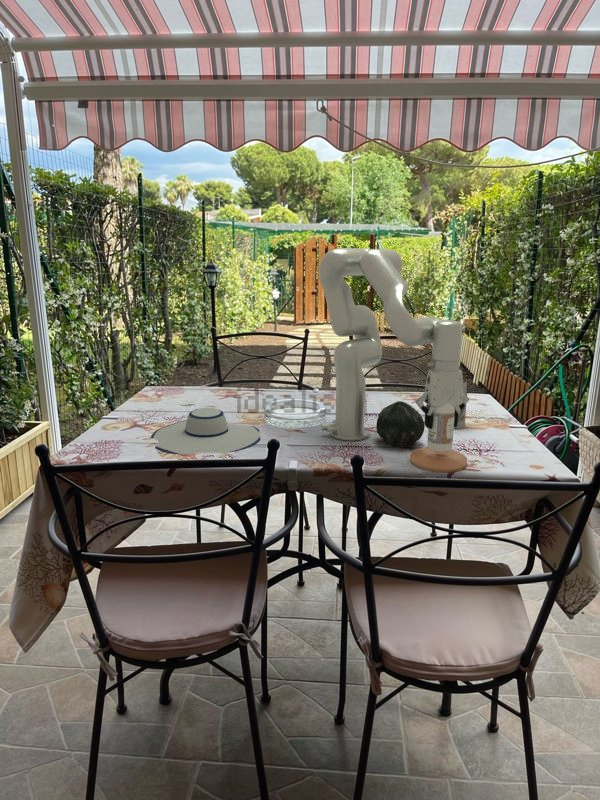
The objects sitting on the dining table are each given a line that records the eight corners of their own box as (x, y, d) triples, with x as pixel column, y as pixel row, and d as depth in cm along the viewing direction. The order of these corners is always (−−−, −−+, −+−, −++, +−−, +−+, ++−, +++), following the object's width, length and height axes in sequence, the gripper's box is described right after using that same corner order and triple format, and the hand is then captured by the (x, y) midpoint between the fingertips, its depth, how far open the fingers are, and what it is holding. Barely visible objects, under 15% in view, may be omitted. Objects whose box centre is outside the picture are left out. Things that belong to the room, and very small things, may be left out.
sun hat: (136, 432, 187) (134, 406, 185) (232, 417, 206) (232, 393, 204) (173, 466, 158) (171, 435, 155) (282, 444, 176) (282, 416, 174)
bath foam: (443, 454, 155) (448, 385, 149) (422, 448, 159) (426, 381, 154) (456, 449, 159) (461, 381, 154) (435, 443, 164) (440, 377, 159)
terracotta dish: (425, 474, 151) (426, 469, 151) (401, 454, 166) (401, 449, 166) (477, 469, 155) (478, 464, 155) (449, 450, 170) (449, 445, 170)
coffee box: (465, 425, 195) (469, 380, 191) (459, 429, 190) (463, 383, 185) (440, 420, 200) (443, 377, 195) (433, 425, 194) (437, 380, 190)
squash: (409, 416, 186) (388, 387, 178) (440, 430, 173) (418, 399, 165) (382, 447, 184) (359, 419, 176) (411, 463, 171) (387, 434, 163)
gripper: (422, 369, 148) (419, 433, 152) (480, 366, 152) (475, 428, 156) (410, 364, 155) (407, 425, 159) (466, 361, 159) (461, 420, 163)
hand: (441, 426), depth 158 cm, fingers closed on bath foam, 7 cm apart
